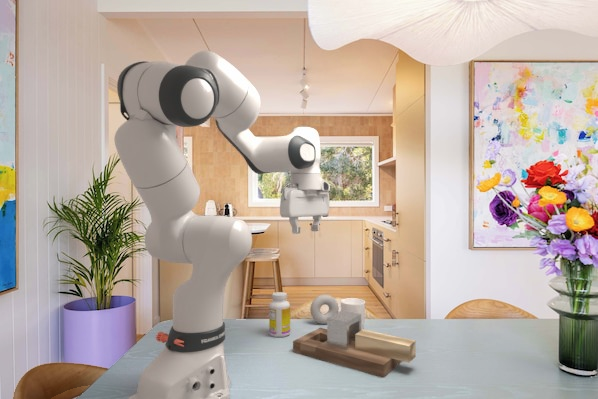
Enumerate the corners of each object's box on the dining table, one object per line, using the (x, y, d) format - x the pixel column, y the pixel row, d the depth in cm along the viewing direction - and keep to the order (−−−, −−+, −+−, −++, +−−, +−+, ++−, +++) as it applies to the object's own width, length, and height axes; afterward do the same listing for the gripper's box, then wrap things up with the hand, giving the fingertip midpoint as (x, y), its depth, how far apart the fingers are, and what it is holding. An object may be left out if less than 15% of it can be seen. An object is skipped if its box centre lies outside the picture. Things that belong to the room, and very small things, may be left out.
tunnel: (346, 350, 101) (346, 321, 101) (327, 345, 104) (327, 317, 104) (361, 340, 108) (361, 314, 108) (342, 336, 111) (342, 310, 111)
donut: (336, 321, 135) (336, 292, 135) (340, 324, 131) (339, 294, 132) (309, 323, 133) (309, 294, 133) (311, 326, 129) (311, 296, 129)
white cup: (360, 338, 118) (360, 305, 118) (336, 333, 122) (336, 302, 122) (368, 330, 125) (368, 299, 125) (346, 326, 129) (346, 296, 129)
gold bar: (409, 362, 93) (409, 346, 93) (355, 349, 101) (355, 334, 101) (415, 356, 96) (415, 340, 97) (363, 344, 105) (363, 329, 105)
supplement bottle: (291, 331, 125) (291, 291, 125) (289, 338, 118) (288, 296, 118) (271, 330, 126) (271, 291, 126) (267, 337, 119) (267, 296, 119)
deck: (383, 377, 92) (383, 365, 92) (293, 351, 108) (293, 341, 108) (405, 358, 103) (405, 346, 103) (320, 337, 119) (320, 327, 119)
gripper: (292, 182, 101) (293, 235, 101) (332, 185, 117) (333, 230, 117) (274, 183, 105) (274, 234, 105) (315, 185, 121) (315, 229, 121)
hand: (305, 232), depth 111 cm, fingers open, 8 cm apart
